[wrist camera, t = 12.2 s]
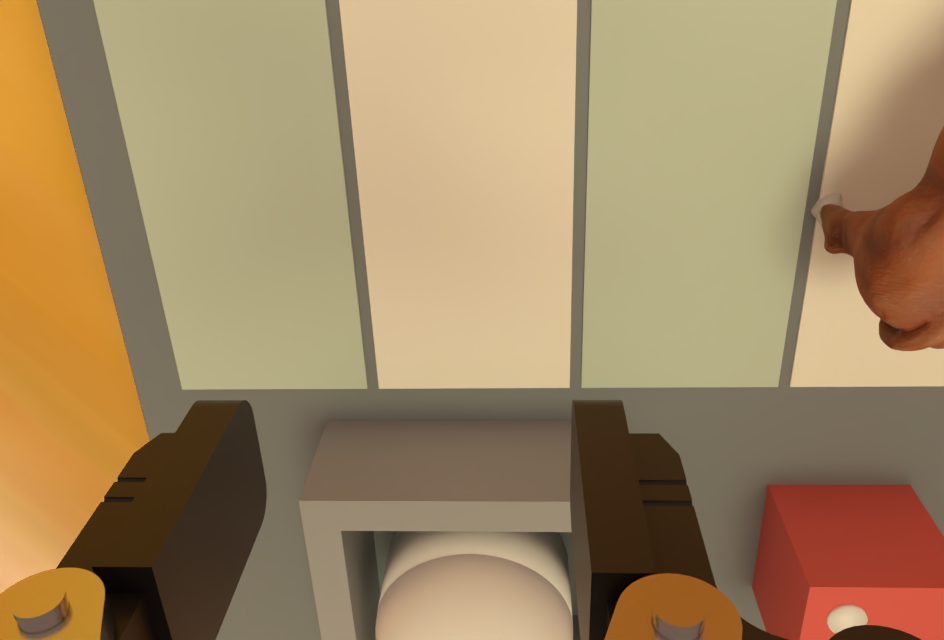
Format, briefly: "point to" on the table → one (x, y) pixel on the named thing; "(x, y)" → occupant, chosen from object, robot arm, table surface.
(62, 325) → the table surface
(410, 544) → the dome
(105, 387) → the table surface
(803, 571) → the game board
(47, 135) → the table surface
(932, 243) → the bull figurine
